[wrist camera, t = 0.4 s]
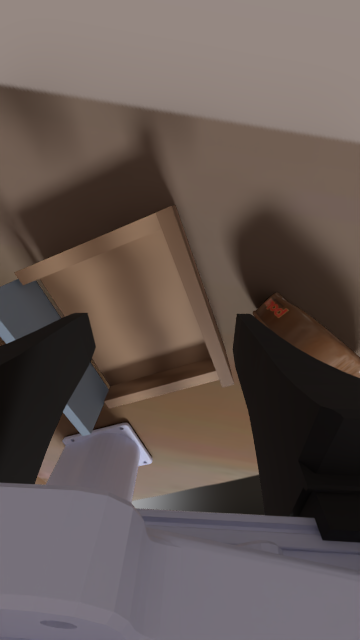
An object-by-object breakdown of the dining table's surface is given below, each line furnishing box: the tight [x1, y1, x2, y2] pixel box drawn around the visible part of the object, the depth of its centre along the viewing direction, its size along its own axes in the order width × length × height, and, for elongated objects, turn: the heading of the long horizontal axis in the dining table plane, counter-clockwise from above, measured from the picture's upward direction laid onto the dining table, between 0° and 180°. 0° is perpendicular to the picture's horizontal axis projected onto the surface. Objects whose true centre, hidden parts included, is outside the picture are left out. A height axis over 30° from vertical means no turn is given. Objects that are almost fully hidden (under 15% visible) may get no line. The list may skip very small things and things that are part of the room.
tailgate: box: [0, 279, 109, 436], centre depth 19 cm, size 1×13×5 cm, turn 21°
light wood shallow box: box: [14, 205, 234, 409], centre depth 19 cm, size 12×14×5 cm
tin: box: [253, 293, 360, 378], centre depth 19 cm, size 15×3×8 cm, turn 51°
